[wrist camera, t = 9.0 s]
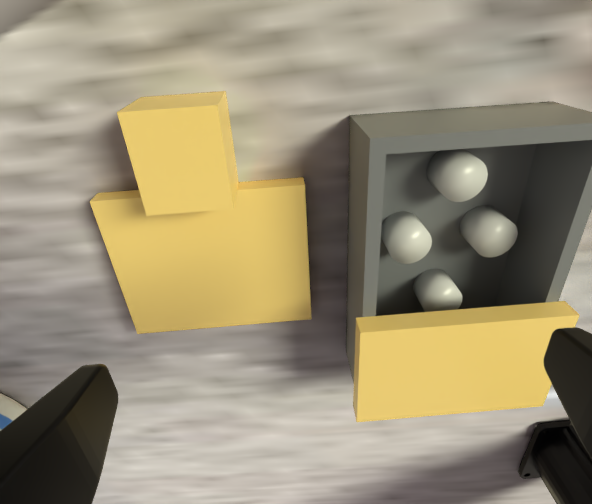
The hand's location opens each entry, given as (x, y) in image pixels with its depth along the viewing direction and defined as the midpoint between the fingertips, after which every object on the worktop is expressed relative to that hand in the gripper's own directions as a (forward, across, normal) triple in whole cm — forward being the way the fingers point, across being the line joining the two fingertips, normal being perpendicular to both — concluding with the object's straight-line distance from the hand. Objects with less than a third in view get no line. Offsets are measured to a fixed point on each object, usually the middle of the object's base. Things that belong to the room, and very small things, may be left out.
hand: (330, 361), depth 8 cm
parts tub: (+12, -7, +4) cm, 14 cm away
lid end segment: (+12, +5, +2) cm, 13 cm away
